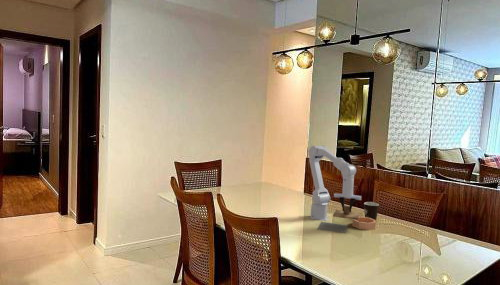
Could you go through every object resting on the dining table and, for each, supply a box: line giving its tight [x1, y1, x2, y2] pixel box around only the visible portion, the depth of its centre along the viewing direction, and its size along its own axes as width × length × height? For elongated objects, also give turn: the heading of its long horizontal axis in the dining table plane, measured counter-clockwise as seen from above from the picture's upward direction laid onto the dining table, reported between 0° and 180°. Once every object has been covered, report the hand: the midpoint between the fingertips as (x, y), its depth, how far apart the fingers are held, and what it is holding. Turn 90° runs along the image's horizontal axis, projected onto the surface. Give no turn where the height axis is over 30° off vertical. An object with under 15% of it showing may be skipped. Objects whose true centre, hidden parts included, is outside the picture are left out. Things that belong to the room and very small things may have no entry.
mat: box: [316, 221, 349, 234], centre depth 197 cm, size 15×15×1 cm
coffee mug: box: [363, 201, 380, 221], centre depth 215 cm, size 12×9×10 cm
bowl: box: [352, 216, 377, 231], centre depth 201 cm, size 12×12×4 cm
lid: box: [332, 205, 360, 220], centre depth 198 cm, size 13×13×5 cm
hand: (346, 211), depth 198 cm, fingers closed on lid, 3 cm apart
